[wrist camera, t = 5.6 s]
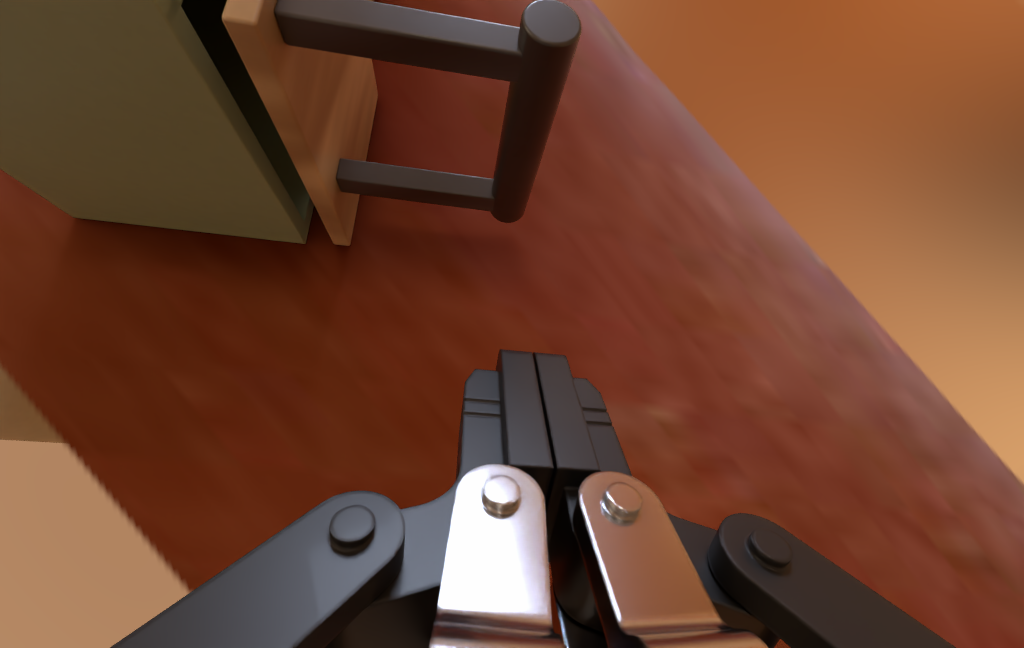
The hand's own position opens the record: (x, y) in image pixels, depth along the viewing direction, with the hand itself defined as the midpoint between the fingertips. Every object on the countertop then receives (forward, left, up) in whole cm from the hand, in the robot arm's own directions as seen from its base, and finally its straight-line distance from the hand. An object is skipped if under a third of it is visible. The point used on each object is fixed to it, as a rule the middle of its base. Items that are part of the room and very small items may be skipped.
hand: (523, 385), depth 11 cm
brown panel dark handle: (+3, +12, -10) cm, 16 cm away
